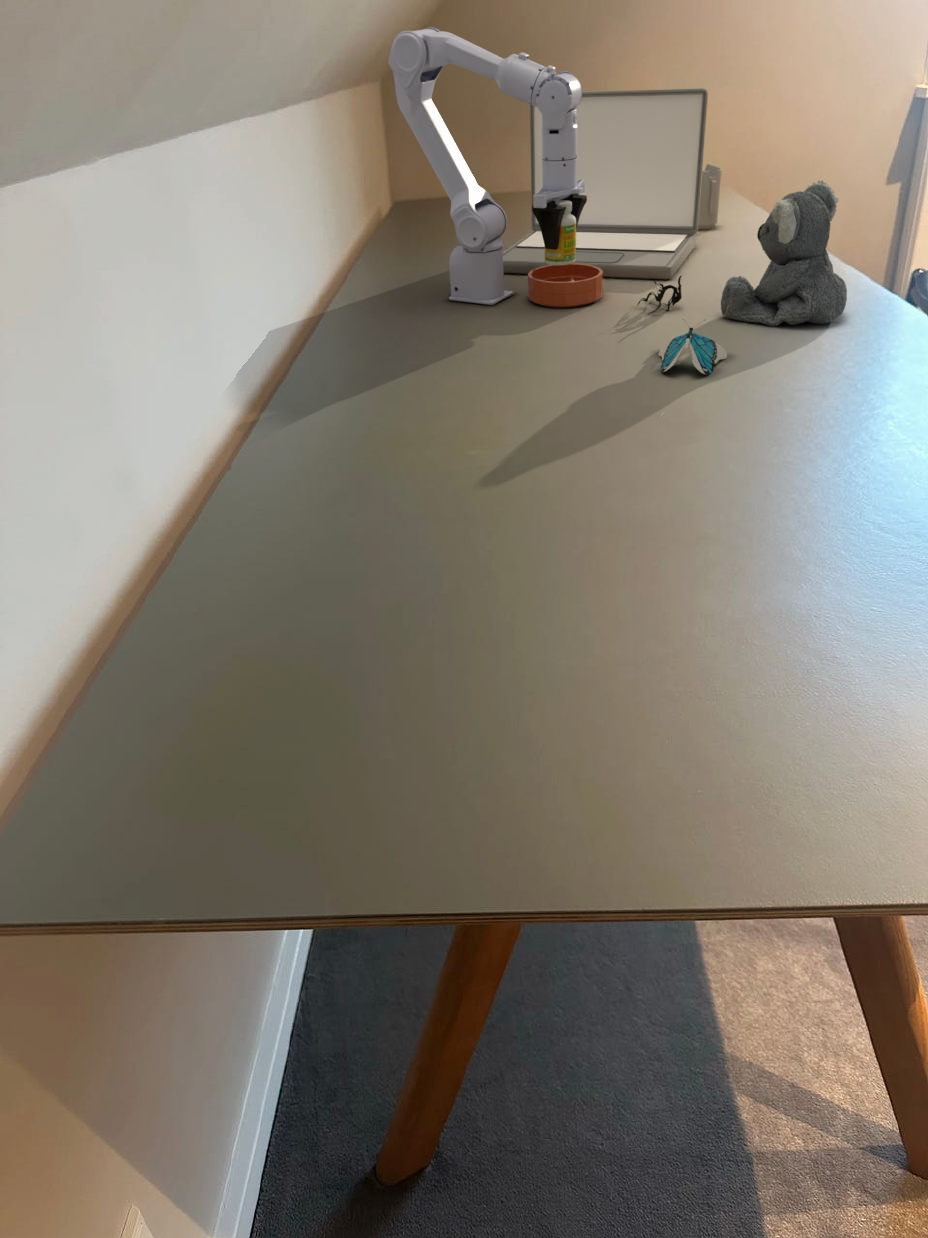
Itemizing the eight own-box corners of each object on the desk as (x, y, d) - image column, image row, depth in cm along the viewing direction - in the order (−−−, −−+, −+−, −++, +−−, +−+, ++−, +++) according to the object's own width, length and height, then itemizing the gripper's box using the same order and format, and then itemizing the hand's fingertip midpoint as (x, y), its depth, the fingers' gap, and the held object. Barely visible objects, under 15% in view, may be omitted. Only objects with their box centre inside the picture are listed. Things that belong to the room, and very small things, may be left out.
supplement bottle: (566, 267, 160) (566, 206, 155) (539, 264, 163) (538, 204, 158) (581, 259, 164) (581, 199, 159) (553, 257, 167) (553, 198, 161)
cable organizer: (699, 218, 217) (703, 161, 210) (723, 229, 207) (728, 169, 200) (672, 222, 216) (675, 164, 209) (694, 232, 206) (699, 172, 199)
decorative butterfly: (647, 349, 132) (660, 311, 138) (647, 388, 137) (659, 350, 143) (721, 353, 129) (730, 314, 135) (718, 393, 134) (727, 353, 140)
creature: (637, 321, 159) (685, 311, 157) (632, 290, 157) (680, 278, 154) (640, 308, 166) (685, 297, 163) (634, 277, 163) (680, 266, 160)
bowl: (515, 304, 168) (514, 278, 166) (550, 285, 177) (549, 260, 175) (581, 312, 162) (582, 285, 160) (614, 292, 171) (614, 266, 169)
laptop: (490, 273, 187) (483, 109, 171) (534, 241, 208) (531, 92, 192) (670, 281, 175) (681, 105, 159) (697, 245, 196) (709, 87, 180)
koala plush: (767, 294, 164) (782, 172, 153) (866, 311, 153) (889, 181, 142) (711, 318, 155) (723, 190, 144) (812, 338, 144) (833, 201, 133)
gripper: (560, 166, 148) (560, 256, 155) (601, 151, 157) (599, 237, 165) (521, 164, 151) (523, 252, 158) (563, 150, 161) (563, 234, 168)
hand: (559, 244), depth 162 cm, fingers closed on supplement bottle, 5 cm apart
